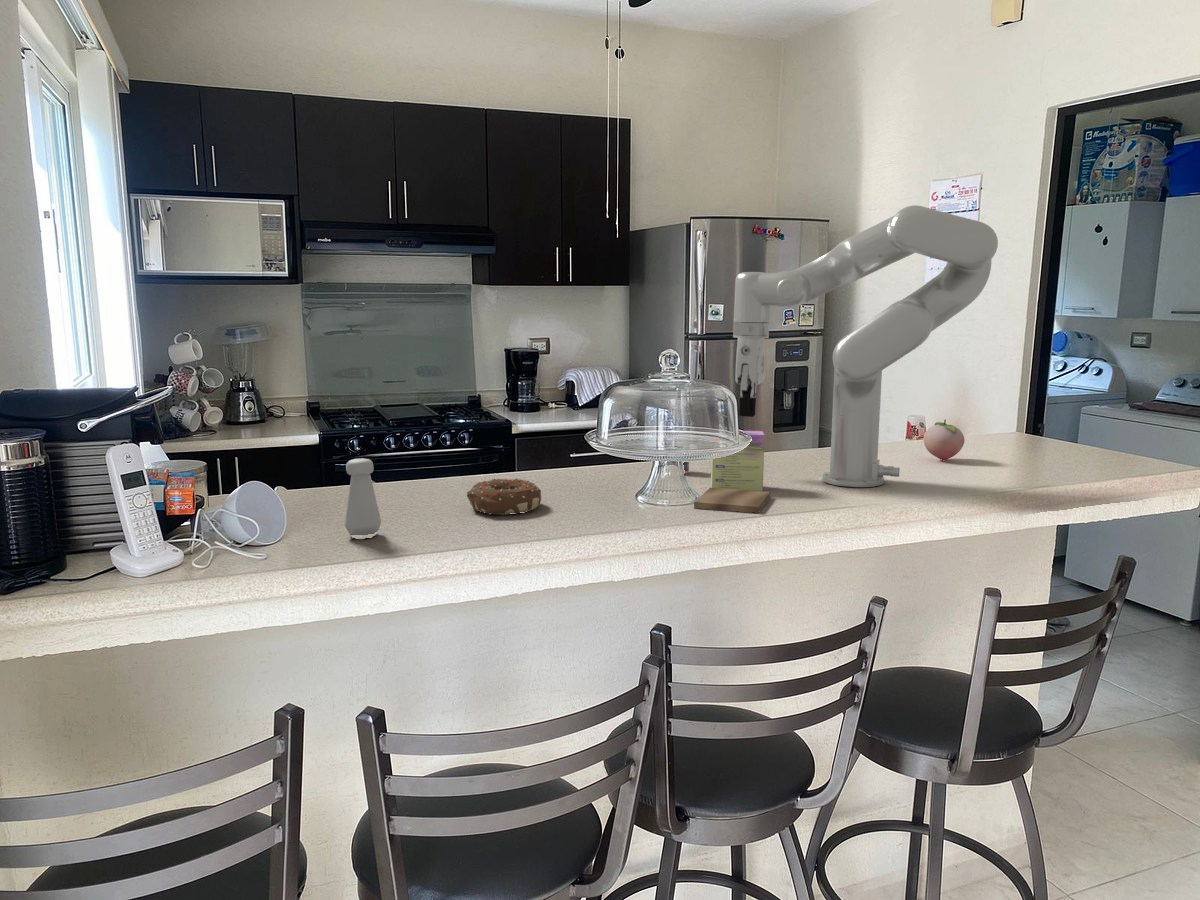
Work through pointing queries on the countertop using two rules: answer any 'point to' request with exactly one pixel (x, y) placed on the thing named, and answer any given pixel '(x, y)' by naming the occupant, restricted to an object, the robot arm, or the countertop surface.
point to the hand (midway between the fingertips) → (747, 415)
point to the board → (732, 500)
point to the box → (741, 467)
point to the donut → (504, 496)
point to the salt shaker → (361, 499)
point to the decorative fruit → (943, 440)
